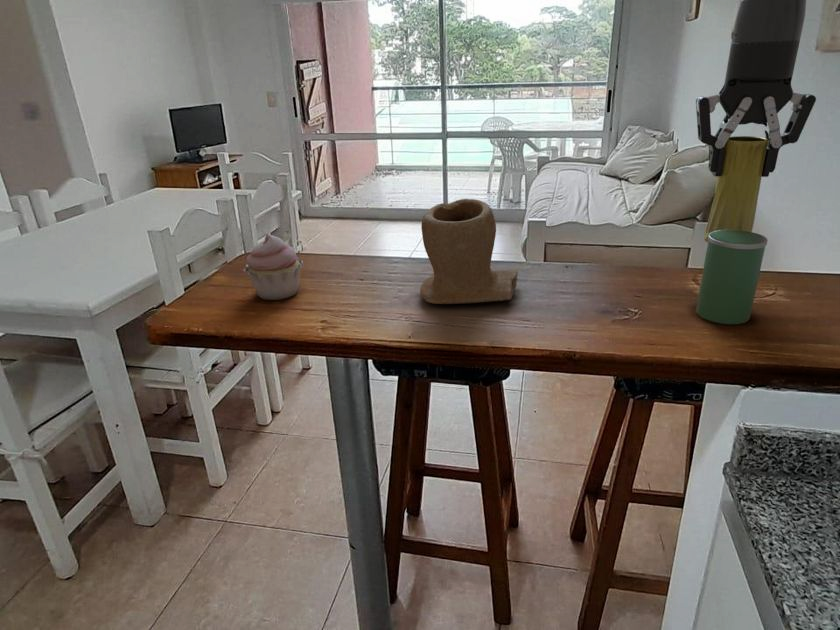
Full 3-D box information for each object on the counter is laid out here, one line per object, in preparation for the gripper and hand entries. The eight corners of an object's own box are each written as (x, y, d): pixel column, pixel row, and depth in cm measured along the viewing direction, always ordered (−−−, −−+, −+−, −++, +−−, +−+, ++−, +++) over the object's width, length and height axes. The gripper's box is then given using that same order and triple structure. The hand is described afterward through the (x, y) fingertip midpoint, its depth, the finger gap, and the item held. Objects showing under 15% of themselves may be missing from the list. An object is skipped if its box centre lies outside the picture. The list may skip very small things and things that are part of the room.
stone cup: (417, 317, 82) (413, 214, 76) (422, 285, 93) (418, 193, 86) (524, 315, 81) (528, 211, 75) (516, 284, 92) (519, 190, 85)
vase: (713, 232, 86) (730, 134, 80) (757, 240, 82) (778, 137, 76) (696, 242, 83) (713, 140, 77) (742, 250, 78) (763, 143, 73)
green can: (743, 305, 81) (759, 230, 76) (756, 326, 75) (774, 246, 70) (691, 302, 82) (703, 228, 78) (700, 323, 76) (714, 244, 72)
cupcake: (246, 288, 95) (235, 230, 91) (302, 279, 98) (294, 222, 93) (250, 309, 87) (239, 246, 83) (311, 298, 90) (303, 237, 85)
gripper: (708, 41, 70) (687, 181, 77) (843, 35, 66) (808, 181, 74) (697, 41, 76) (679, 170, 84) (819, 36, 73) (789, 170, 80)
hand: (739, 175), depth 78 cm, fingers closed on vase, 5 cm apart
